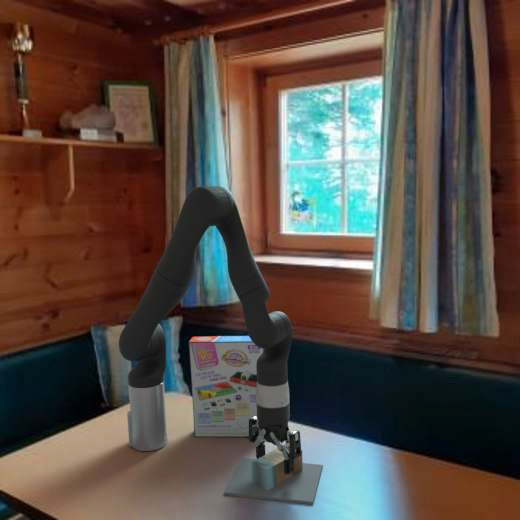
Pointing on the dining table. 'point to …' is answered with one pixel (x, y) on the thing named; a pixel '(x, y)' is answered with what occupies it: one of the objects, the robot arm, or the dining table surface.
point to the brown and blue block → (272, 469)
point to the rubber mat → (290, 490)
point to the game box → (223, 384)
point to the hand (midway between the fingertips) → (274, 467)
